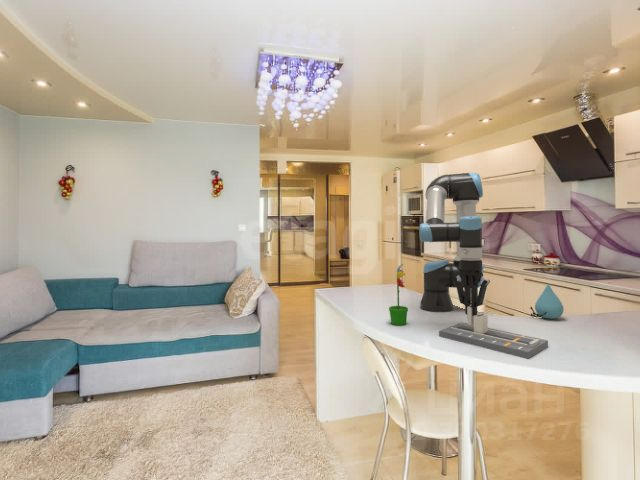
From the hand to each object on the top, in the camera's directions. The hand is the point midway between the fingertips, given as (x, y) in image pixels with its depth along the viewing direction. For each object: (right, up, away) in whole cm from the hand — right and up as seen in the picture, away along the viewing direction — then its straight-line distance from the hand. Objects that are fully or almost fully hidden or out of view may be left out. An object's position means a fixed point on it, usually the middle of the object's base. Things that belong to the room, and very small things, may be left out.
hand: (471, 324), depth 127 cm
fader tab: (+2, -2, -2) cm, 4 cm away
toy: (+42, -3, +23) cm, 48 cm away
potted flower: (-22, -5, +20) cm, 30 cm away
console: (+5, -5, -5) cm, 8 cm away
